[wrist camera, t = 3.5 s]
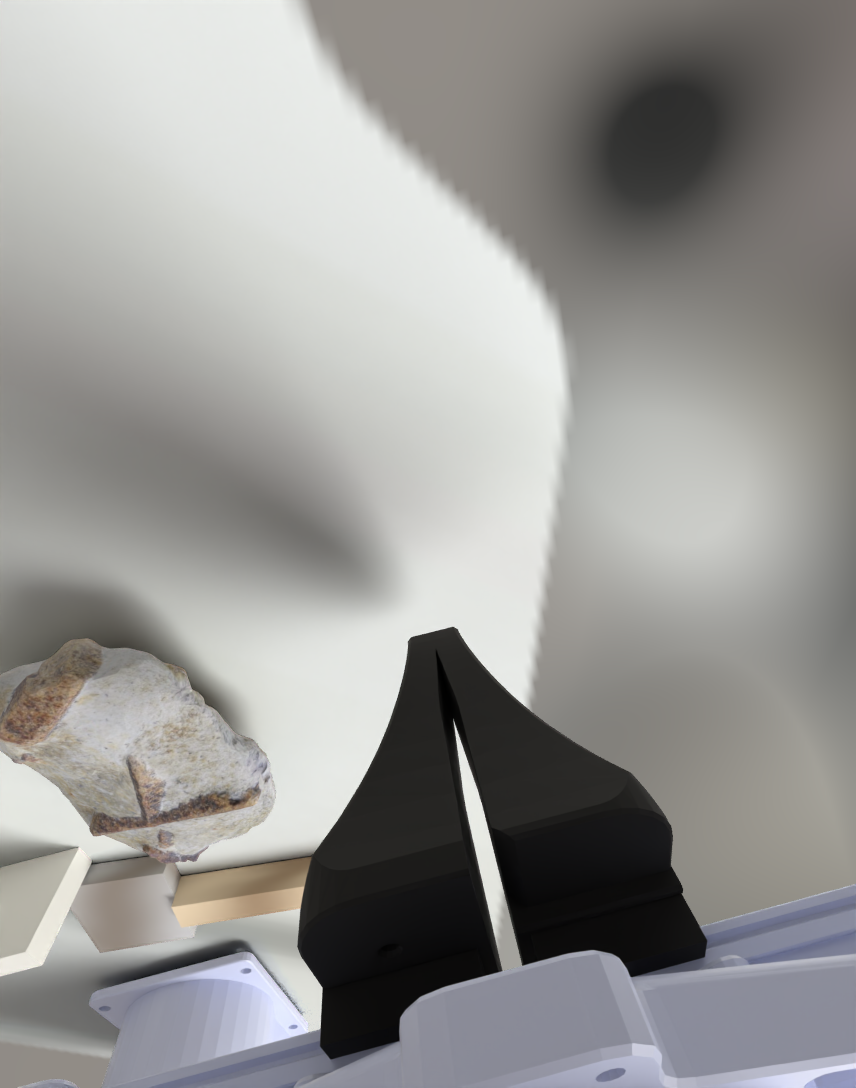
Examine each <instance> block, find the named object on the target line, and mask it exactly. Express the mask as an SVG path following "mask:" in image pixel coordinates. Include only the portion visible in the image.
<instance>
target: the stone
mask: <svg viewBox="0 0 856 1088" xmlns="http://www.w3.org/2000/svg"><path fill="white" fill-rule="evenodd" d="M0 751H1V752H3V753H4V754H6V755H7V756H8V757H10V758H11V759H12V761H13V762H15V763H18V764H25V765H27V766H29V767H31V768H32V769H34V770H35V771H37V772H39V773H40V774H42V775H43V776H44V777H46V778H47V779H48V780H50V781H51V782H52V783H53V784H55V785H56V786H57V787H59V789H60V790H61V792H62V793H63V794H64V795H65V796H66V797H67V798H68V799H69V800H70V802H71V803H72V805H73V806H74V807H75V809H76V810H77V811H78V813H79V814H80V815H81V816H82V818H83V819H84V820H85V822H86V823H87V825H88V826H89V827H90V832H91V833H92V835H93V836H101V835H105V836H107V837H110V838H112V839H115V840H117V841H119V842H122V843H125V844H127V845H128V846H130V847H132V848H135V849H138V850H140V851H143V852H145V853H147V854H148V855H149V856H150V857H151V858H156V859H157V860H158V861H159V862H161V863H165V864H169V863H175V862H186V861H187V860H190V861H193V862H194V861H197V859H198V857H199V855H200V854H201V853H202V852H203V851H205V850H206V849H207V848H208V845H211V844H214V843H217V842H219V841H221V840H225V839H231V838H235V837H238V836H240V835H243V834H245V833H247V832H248V831H249V829H251V828H252V827H253V826H256V825H259V824H260V823H262V822H263V821H264V820H265V819H266V818H267V816H268V814H269V813H270V812H271V811H272V808H273V806H274V802H275V798H276V791H275V787H274V782H273V779H272V774H271V769H270V763H269V760H268V758H267V756H266V754H265V753H264V752H263V751H262V750H261V749H260V748H259V746H258V744H257V743H256V742H255V741H254V740H252V739H250V738H247V737H244V736H241V735H238V734H237V733H235V732H234V731H233V730H232V729H231V727H230V726H229V725H228V724H227V723H226V722H225V721H224V720H223V718H222V717H221V716H220V714H219V713H218V712H217V711H216V710H215V709H214V708H213V707H211V706H207V705H206V704H205V702H204V698H203V697H202V696H201V695H200V694H199V693H198V692H197V691H194V690H193V689H192V688H191V685H190V682H189V679H188V676H187V672H186V671H185V669H184V668H182V667H179V666H176V665H173V664H169V663H163V662H162V661H160V660H159V659H158V658H156V657H155V656H153V655H152V654H150V653H148V652H143V651H139V650H134V649H130V648H112V649H110V648H106V647H102V646H100V645H99V644H98V643H96V642H95V641H93V640H91V639H88V638H85V639H71V640H70V641H68V642H66V643H65V644H64V645H63V646H62V647H61V648H60V649H59V650H58V651H57V652H56V653H55V654H54V655H52V656H51V657H50V658H48V659H46V660H43V661H40V662H35V663H31V664H26V665H21V666H18V667H15V668H13V669H11V670H9V671H7V672H5V673H2V674H0Z"/></svg>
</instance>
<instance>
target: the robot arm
mask: <svg viewBox="0 0 856 1088" xmlns="http://www.w3.org/2000/svg"><path fill="white" fill-rule="evenodd" d="M453 719H454V721H453ZM454 722H455V725H456V728H457V731H458V734H459V737H460V740H461V743H462V745H463V748H464V751H465V754H466V757H467V760H468V763H469V766H470V769H471V772H472V775H473V777H474V780H475V783H476V786H477V789H478V792H479V796H480V799H481V802H482V806H483V810H484V814H485V818H486V822H487V826H488V830H489V834H490V838H491V842H492V846H493V850H494V854H495V858H496V862H497V866H498V870H499V874H500V878H501V882H502V886H503V890H504V894H505V898H506V902H507V906H508V910H509V913H510V917H511V922H512V926H513V929H514V933H515V938H516V942H517V945H518V949H519V954H520V958H521V962H522V966H520V967H516V968H513V969H509V970H505V971H502V967H501V963H500V958H499V954H498V950H497V945H496V941H495V936H494V932H493V928H492V923H491V919H490V914H489V910H488V905H487V901H486V897H485V892H484V888H483V883H482V879H481V874H480V870H479V865H478V861H477V857H476V852H475V848H474V843H473V839H472V834H471V830H470V825H469V821H468V816H467V812H466V807H465V801H464V795H463V788H462V781H461V773H460V766H459V758H458V751H457V743H456V736H455V729H454ZM672 841H673V835H672V828H671V825H670V824H669V822H668V821H667V818H666V816H665V815H664V813H663V812H662V810H661V809H660V808H659V806H658V805H657V803H656V802H655V801H654V799H653V798H652V797H651V796H650V794H649V793H648V792H647V791H646V789H645V788H644V787H643V786H642V785H641V784H640V782H639V781H638V780H637V779H636V778H635V777H634V776H633V775H632V774H631V773H630V772H628V771H626V770H624V769H622V768H620V767H618V766H616V765H614V764H612V763H610V762H608V761H606V760H604V759H602V758H601V757H599V756H597V755H595V754H593V753H592V752H590V751H588V750H587V749H585V748H583V747H582V746H580V745H578V744H576V743H575V742H573V741H572V740H570V739H569V738H567V737H565V736H564V735H563V734H561V733H560V732H558V731H557V730H555V729H554V728H552V727H551V726H549V725H548V724H547V723H545V722H544V721H543V720H541V719H540V718H539V717H537V716H536V715H534V713H532V712H531V711H530V710H529V709H527V708H526V707H525V706H524V705H523V704H521V703H520V702H519V701H518V700H517V699H516V698H515V697H513V696H512V695H511V694H510V693H509V692H508V691H507V690H506V689H505V688H504V687H503V686H502V685H501V684H500V683H499V682H498V681H497V680H496V679H495V678H494V677H493V676H492V675H491V674H490V673H489V672H488V670H487V669H486V668H485V667H484V666H483V665H482V664H481V662H480V661H479V660H478V659H477V658H476V656H475V655H474V654H473V653H472V651H471V650H470V649H469V647H468V646H467V644H466V643H465V642H464V640H463V638H462V637H461V635H460V633H459V631H458V629H456V628H454V627H450V628H446V629H442V630H438V631H434V632H430V633H426V634H422V635H418V636H414V637H411V638H410V640H409V641H408V653H407V660H406V665H405V670H404V675H403V679H402V683H401V687H400V691H399V694H398V698H397V701H396V704H395V707H394V710H393V713H392V716H391V719H390V722H389V724H388V727H387V729H386V732H385V734H384V737H383V739H382V741H381V744H380V746H379V748H378V750H377V753H376V755H375V757H374V759H373V761H372V763H371V765H370V767H369V769H368V771H367V773H366V774H365V776H364V778H363V780H362V782H361V784H360V785H359V787H358V789H357V790H356V792H355V794H354V795H353V797H352V798H351V800H350V802H349V803H348V805H347V807H346V808H345V810H344V812H343V813H342V815H341V816H340V818H339V819H338V821H337V822H336V824H335V825H334V826H333V828H332V829H331V830H330V832H329V833H328V835H327V836H326V837H325V839H324V840H323V842H322V843H321V844H320V846H319V847H318V848H317V850H316V851H315V852H314V854H313V855H312V858H311V861H310V865H309V869H308V873H307V877H306V882H305V886H304V891H303V896H302V902H301V910H300V922H299V934H298V946H297V947H298V950H299V952H300V955H301V957H302V959H303V960H304V961H305V963H306V964H307V966H308V967H309V969H310V970H311V972H312V973H313V974H314V976H315V977H316V979H317V980H318V982H319V983H320V984H321V986H322V987H323V993H322V1013H321V1029H320V1030H316V1031H312V1032H308V1023H307V1022H306V1020H305V1019H304V1018H303V1017H302V1015H301V1014H300V1013H299V1011H298V1010H297V1009H296V1008H295V1006H294V1005H293V1004H292V1003H291V1001H290V1000H289V999H288V998H287V996H286V995H285V994H284V993H283V991H282V990H281V989H280V988H279V986H278V985H277V984H276V983H275V981H274V980H273V979H272V978H271V976H270V975H269V974H268V973H267V971H266V970H265V969H264V968H263V966H262V965H261V964H260V963H259V961H258V960H257V959H256V957H255V956H254V955H253V954H252V953H250V952H239V953H235V954H232V955H228V956H224V957H220V958H216V959H213V960H209V961H205V962H201V963H198V964H194V965H190V966H186V967H183V968H179V969H175V970H171V971H168V972H164V973H160V974H156V975H152V976H149V977H145V978H141V979H137V980H134V981H130V982H126V983H122V984H119V985H115V986H111V987H107V988H104V989H100V990H97V991H95V992H94V993H92V995H91V998H90V1000H89V1006H90V1007H91V1008H92V1009H94V1010H95V1011H96V1012H98V1013H99V1014H100V1015H101V1016H103V1017H104V1018H105V1019H106V1020H108V1021H109V1022H110V1023H112V1024H113V1025H114V1026H115V1027H117V1028H118V1029H119V1030H120V1032H119V1035H118V1038H117V1041H116V1044H115V1047H114V1050H113V1053H112V1056H111V1059H110V1063H109V1065H108V1068H107V1071H106V1074H105V1078H104V1081H103V1084H102V1087H101V1088H856V884H854V885H850V886H847V887H843V888H839V889H836V890H832V891H828V892H824V893H821V894H817V895H813V896H810V897H806V898H802V899H799V900H795V901H791V902H788V903H784V904H780V905H777V906H773V907H769V908H766V909H762V910H758V911H754V912H751V913H747V914H744V915H740V916H736V917H733V918H729V919H725V920H722V921H718V922H714V923H710V924H707V925H703V926H699V924H698V923H697V921H696V919H695V917H694V916H693V914H692V912H691V910H690V908H689V907H688V905H687V903H686V901H685V899H684V897H683V896H682V894H681V893H683V888H682V885H681V883H680V881H679V879H678V877H677V876H676V874H675V872H674V870H673V869H672V867H671V854H672ZM18 1088H79V1087H78V1086H77V1085H75V1084H74V1083H72V1082H70V1081H66V1080H62V1079H51V1080H45V1081H40V1082H36V1083H33V1084H29V1085H25V1086H21V1087H18Z"/></svg>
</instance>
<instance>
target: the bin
mask: <svg viewBox="0 0 856 1088" xmlns="http://www.w3.org/2000/svg"><path fill="white" fill-rule="evenodd" d="M91 863H92V860H91V859H90V858H89V857H88V856H87V855H86V854H85V852H84V851H83V850H82V849H81V848H80V847H78V848H74V849H70V850H66V851H62V852H58V853H54V854H50V855H47V856H43V857H39V858H35V859H31V860H27V861H23V862H19V863H15V864H12V865H8V866H4V867H0V976H4V975H8V974H12V973H15V972H19V971H23V970H27V969H31V968H34V967H38V966H42V965H43V963H44V961H45V959H46V957H47V955H48V953H49V951H50V949H51V946H52V944H53V942H54V940H55V938H56V936H57V934H58V932H59V930H60V928H61V926H62V923H63V921H64V919H65V917H66V915H67V913H68V911H69V909H70V907H71V905H72V903H73V900H74V898H75V896H76V894H77V892H78V890H79V888H80V886H81V884H82V882H83V880H84V877H85V875H86V873H87V871H88V869H89V867H90V865H91Z"/></svg>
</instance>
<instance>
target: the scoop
mask: <svg viewBox="0 0 856 1088" xmlns="http://www.w3.org/2000/svg"><path fill="white" fill-rule="evenodd" d="M311 858H312V857H306V858H299V859H293V860H286V861H279V862H273V863H266V864H260V865H253V866H247V867H240V868H233V869H227V870H220V871H214V872H207V873H200V874H194V875H187V876H180V873H179V871H178V869H177V867H176V865H175V863H169V864H165V863H161V862H159V861H158V860H157V859H156V858H151V857H150V856H148V857H141V858H134V859H127V860H120V861H113V862H107V863H100V864H93V865H90V867H89V869H88V871H87V873H86V875H85V877H84V880H83V882H82V884H81V886H80V888H79V890H78V892H77V894H76V896H75V898H74V900H73V903H72V905H71V907H70V909H71V910H72V912H73V913H74V915H75V916H76V918H77V919H78V921H79V922H80V924H81V925H82V927H83V928H84V930H85V931H86V933H87V934H88V936H89V937H90V938H91V940H92V941H93V943H94V944H95V946H96V947H97V949H98V950H99V952H100V953H102V952H108V951H114V950H120V949H126V948H132V947H138V946H144V945H150V944H156V943H162V942H169V941H175V940H181V939H187V938H193V937H194V936H195V932H196V928H197V925H201V924H207V923H214V922H220V921H226V920H232V919H238V918H244V917H250V916H257V915H263V914H269V913H275V912H281V911H287V910H293V909H300V908H301V902H302V896H303V891H304V886H305V882H306V877H307V873H308V869H309V865H310V861H311Z"/></svg>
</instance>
